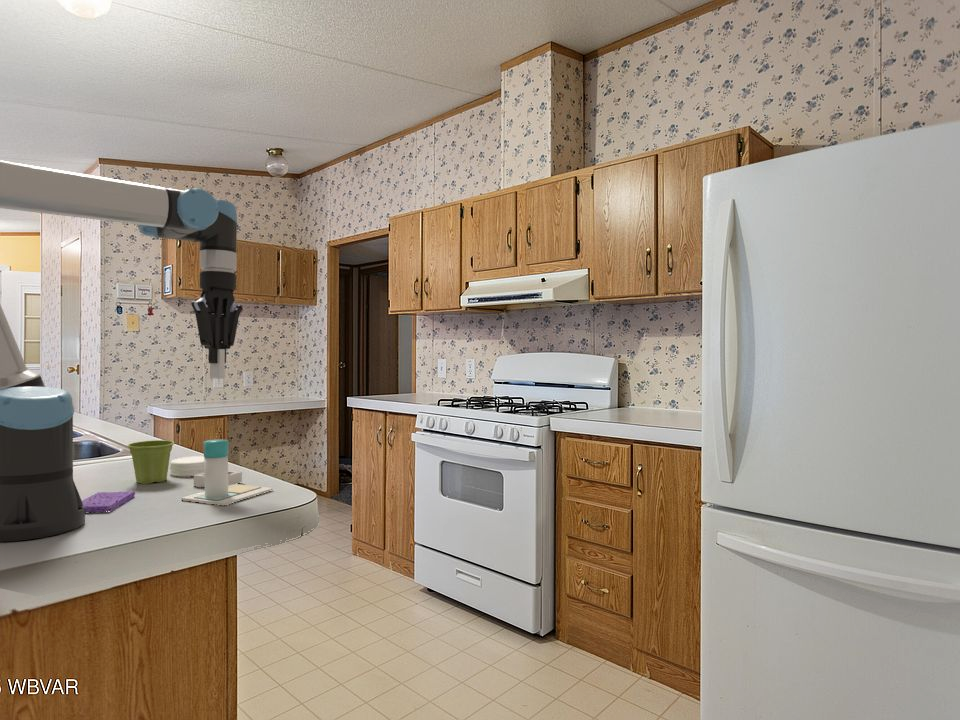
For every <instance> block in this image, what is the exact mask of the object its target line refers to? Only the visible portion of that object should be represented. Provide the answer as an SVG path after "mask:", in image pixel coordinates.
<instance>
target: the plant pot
mask: <svg viewBox="0 0 960 720" xmlns="http://www.w3.org/2000/svg"><path fill="white" fill-rule="evenodd" d="M174 444H175V441H174V440H173V441H172V440H169V439H168V440H164V439H163V440H162V439H161V440H160V439H159V440H144V441H143V440H142V441H136V442H131V443H129V444H127V446H126V447H127V448H129V453H130V454H131V459H132V464H133V469H134V475H135V482H137V483H138V484H140V483H141V484H142V485H143V484H145V485H146V484H147V485H148V484H149V485H150V484H153V483H154V482H156V483H162V482H165V481H167V479H168V478H167V477H168V472H169V466H170V458H171V451H172V449H173V445H174Z"/></svg>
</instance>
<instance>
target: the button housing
mask: <svg viewBox="0 0 960 720" xmlns="http://www.w3.org/2000/svg"><path fill="white" fill-rule="evenodd" d="M240 482H242V483H243V472H242V471H235V470H228V485H229V484H236V483H240ZM240 484H241V483H240ZM194 486H196V487H195V488H201V487H205V479H204V473H201V474H197V475H194V477H193V487H194Z"/></svg>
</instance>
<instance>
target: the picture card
mask: <svg viewBox="0 0 960 720" xmlns="http://www.w3.org/2000/svg"><path fill="white" fill-rule="evenodd" d="M270 490H273V491H274V488H273V487H266V486H264V487H263V486H258V485H257V486H256V485H247V484H241V483H240V484H229V485H228V495H227V496H225V497H220V498H206V497H205V490H204V491H200V492H198V493H194V494H190V495H189V494H188V495H187V496H182V497H181V498H180V501H181V500H183V501H182V502H187V501H191V502H190V503H195V502H199V503H198V504H203V503H206V504H205V505H211V504H215V505H214V506H219V505H227V504H230V503H232V502H236V501H239V500H242V499H245V498H248V497H251V496H254V495H257V494H261V493H264V492H267V491H270ZM236 503H237V502H236ZM216 504H217V505H216ZM230 505H231V504H230ZM227 506H228V505H227Z"/></svg>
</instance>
